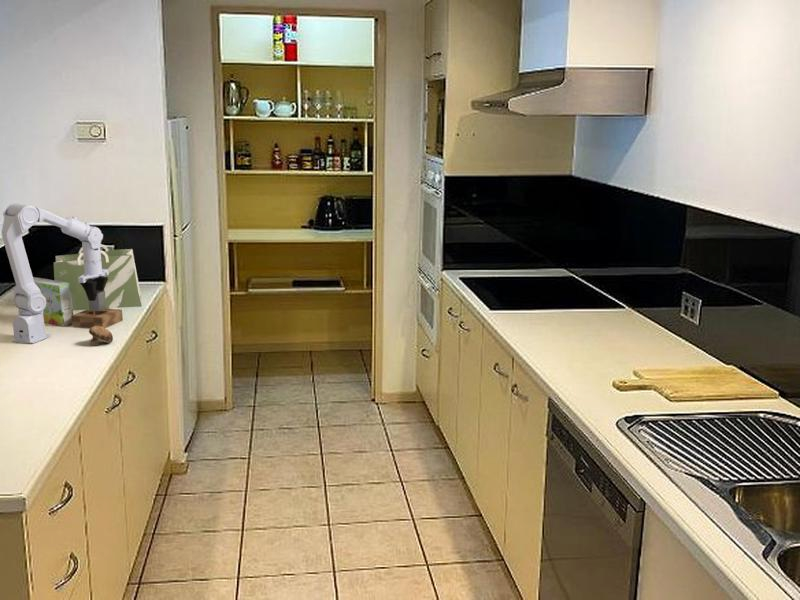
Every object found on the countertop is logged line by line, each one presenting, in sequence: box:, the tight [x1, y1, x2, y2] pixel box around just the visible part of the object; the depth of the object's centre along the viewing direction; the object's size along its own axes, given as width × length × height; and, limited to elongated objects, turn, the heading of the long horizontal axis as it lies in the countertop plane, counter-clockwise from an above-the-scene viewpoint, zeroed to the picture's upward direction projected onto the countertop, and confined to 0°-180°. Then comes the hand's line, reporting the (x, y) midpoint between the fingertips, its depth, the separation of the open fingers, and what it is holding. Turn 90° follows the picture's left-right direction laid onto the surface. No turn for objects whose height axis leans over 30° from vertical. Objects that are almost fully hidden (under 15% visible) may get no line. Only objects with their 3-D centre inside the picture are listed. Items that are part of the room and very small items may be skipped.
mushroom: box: [88, 326, 114, 346], centre depth 266 cm, size 8×8×6 cm
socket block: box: [71, 308, 124, 329], centre depth 289 cm, size 12×12×4 cm
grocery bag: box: [53, 243, 143, 311], centre depth 313 cm, size 32×14×23 cm, turn 106°
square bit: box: [89, 290, 106, 311], centre depth 288 cm, size 4×4×6 cm
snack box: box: [33, 276, 74, 328], centre depth 291 cm, size 21×6×15 cm, turn 62°
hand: (95, 299), depth 288 cm, fingers closed on square bit, 4 cm apart
